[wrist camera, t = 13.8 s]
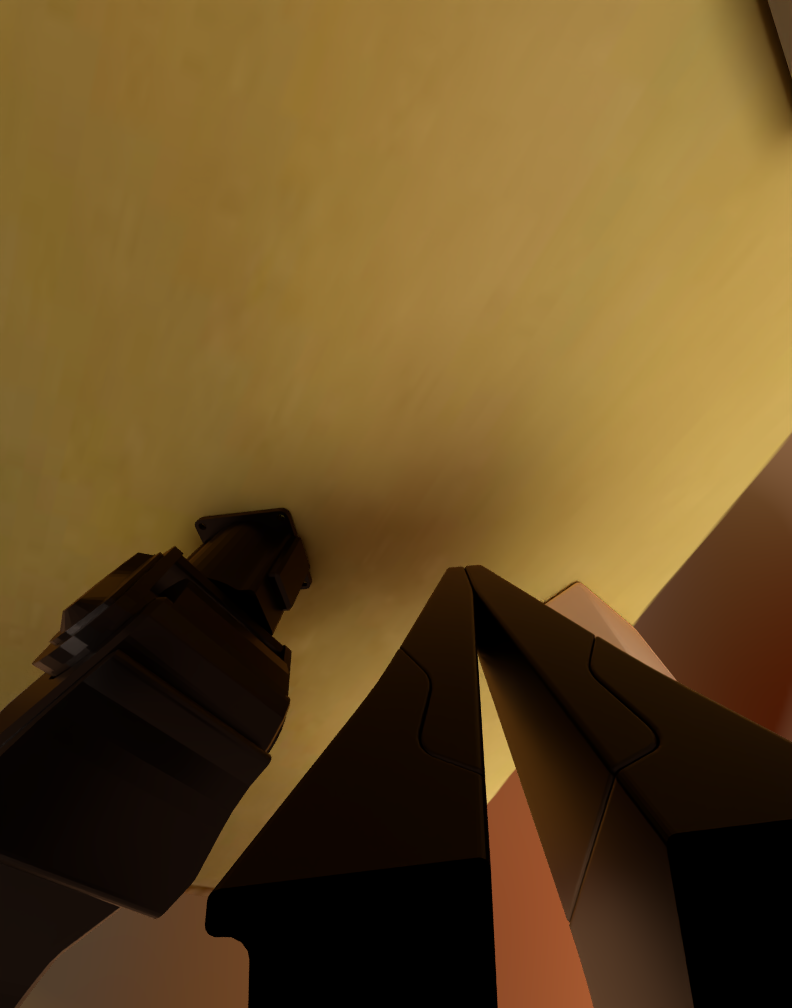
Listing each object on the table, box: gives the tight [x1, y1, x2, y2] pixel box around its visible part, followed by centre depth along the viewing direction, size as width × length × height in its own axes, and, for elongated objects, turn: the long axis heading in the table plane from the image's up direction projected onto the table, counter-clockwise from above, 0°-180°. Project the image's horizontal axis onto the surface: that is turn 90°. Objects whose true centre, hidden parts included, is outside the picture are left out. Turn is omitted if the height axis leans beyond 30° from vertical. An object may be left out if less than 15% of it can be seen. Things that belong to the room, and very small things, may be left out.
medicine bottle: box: [545, 582, 676, 681], centre depth 19 cm, size 7×7×12 cm
